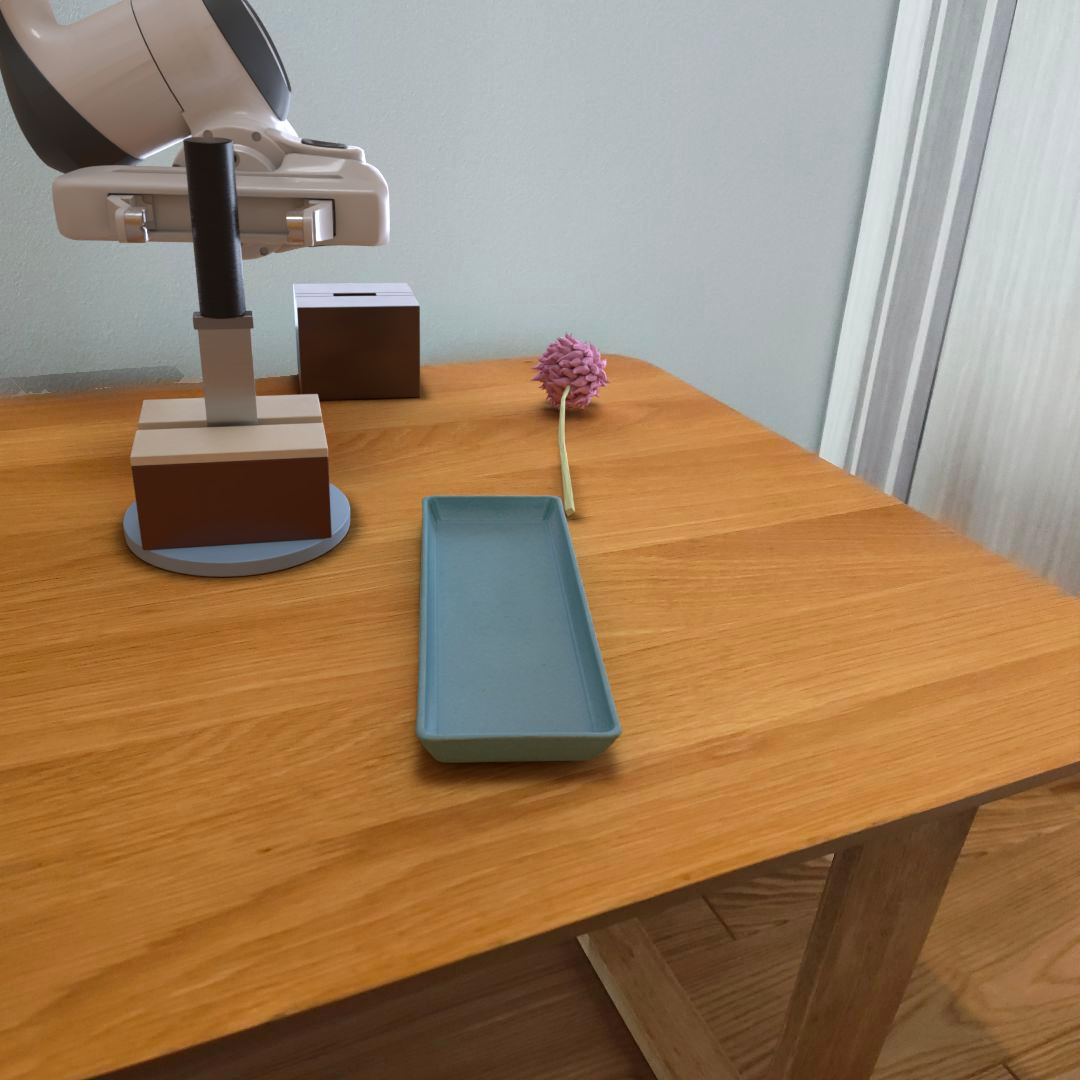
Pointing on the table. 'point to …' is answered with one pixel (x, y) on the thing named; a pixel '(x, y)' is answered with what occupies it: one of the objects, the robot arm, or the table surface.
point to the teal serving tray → (507, 636)
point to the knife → (220, 284)
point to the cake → (233, 489)
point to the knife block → (357, 340)
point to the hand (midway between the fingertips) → (215, 230)
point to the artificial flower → (570, 388)
